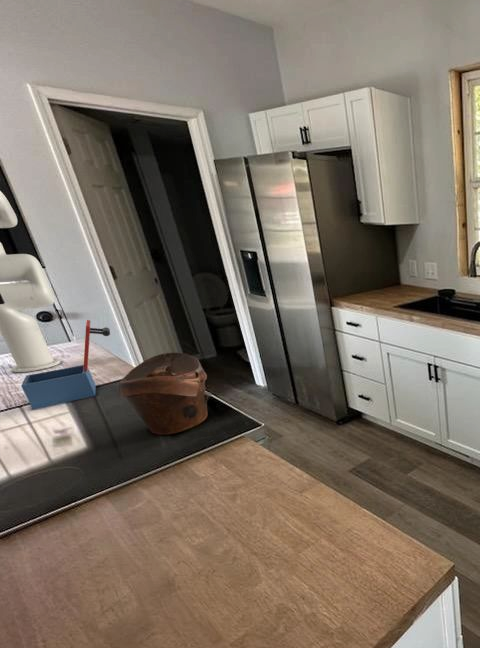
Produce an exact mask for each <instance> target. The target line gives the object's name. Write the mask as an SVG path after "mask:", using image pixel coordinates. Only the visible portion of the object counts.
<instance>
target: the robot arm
mask: <svg viewBox="0 0 480 648" xmlns="http://www.w3.org/2000/svg"><path fill="white" fill-rule="evenodd" d="M17 225H18V217H17V214H16V213H15V210H14V209H13V207H12V206H11V203H10V202H9V200H8V199H7V197H6V195H5V194H4V193H3V192H2V191H1V190H0V229H10V228H14V227H16V226H17ZM24 281H25V282H24ZM0 283H1V284H0V334H1V336H2V339H3V340H4V342H5V344H6V346H7V348H8V351H9V353H10V354H11V357H12V358H13V360H14V363H15V366H13V367H12V368H11V370H12V372H13V373H28V372H36V371H40V370H45V369H48V368H52V367H55V366H58V365H59V364H61V359H60V358H53V355H52V352H51V351H50V348H49V346H48V344H47V342H46V340H45V337H44V335H43V333H42V330H41V328H40V326H39V324H38V322H37V320H36V319H35V318H34V317H33V316H31V315H30V314H27V313H25V312H23V310H24V311H25V310H28V309H29V310H30V309H37V308H43V307H44V308H45V307H50V306H52V305H54V304H55V302H56V301H55V295H54V292H53V290H52V288H51V285H50V283H49V280H48V278H47V276H46V274H45V271H44V269H43V266H42V265H41V263H40V261H39V260H38V259H37V257H35V256H34V255H32V254H28V253H15V254H14V253H13V254H7V253H6V250H5V248H4V246H3V243H2V242H0Z"/></svg>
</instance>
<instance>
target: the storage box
mask: <svg viewBox="0 0 480 648" xmlns="http://www.w3.org/2000/svg"><path fill="white" fill-rule="evenodd" d="M83 369H84V364H81V365H76V366H75V365H74V366H69V367H64V368H59V369H53V370H48V371H44V372H43V371H42V372H38V373H33V374H27V375H25V377H24V379H23V381H22V383H21V385H20V386H21V389H22V390H23V393H24V395H25V397H26V399H27V401H28V403H29V405H30V407H31V409H32V410H38V409H42V408H46V407H52V406H57V405H60V404H65V403H69V402H73V401H79V400H82V399H88V398H93V397H96V391H97V389H96V388H97V385H96V382H95V381H94V378H93V376H92V373H91V370H90V369H89V366H88V367H87V372H83Z"/></svg>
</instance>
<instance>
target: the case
mask: <svg viewBox="0 0 480 648" xmlns="http://www.w3.org/2000/svg"><path fill="white" fill-rule="evenodd" d="M207 379H208V375H207V373H206V372H205V370H204V367H202V364H201V362H200V361H199V359H198V358H197V357H195V356H193V355H192V354H187V353H183V352H164V353H161V354H160V353H159V354H157V355H154V356H151V357H149V358H147V359H145V360H144V361H142V362H141V363H139V364H138V365H136V366H135V367H133V368H132V369H131V370H130V371H129V372H128V373H127V374H126V375H125V376H123V378H122V379H121V380H120V381H119V384H118V394H119V396H120V397H122V398H126V400H127V401H128V402H129V404H130V405H131V406H132V409H134V410H135V412H136V413H137V415H138V416H139V417H140V418H141V420H142V421H143V422H144V424H145V425H146V426H147V428H148V429H149V431H150V432H151V433H152V434H155V435H159V436H166V435H174V434H177V433H180V432H185V431H187V430H189V429H192V428H194V427H196V426H198V425H200V424H201V423H202V422H204V421H205V420H206V419H207V418H208V415H209V414H208V412H209V411H208V401H209V397H212V396H213V394H212V392H209V391H207V390H206V381H207Z"/></svg>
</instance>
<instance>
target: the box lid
mask: <svg viewBox="0 0 480 648" xmlns="http://www.w3.org/2000/svg"><path fill="white" fill-rule="evenodd" d="M91 334H92V335H93V334H94V335H102V336H104V337H109V336H110V335H111V329H110V328H109V327H108V326H107V327H106V326H105V327H103V328H96V327H91V320H89V319H87V320H86V323H85V335H84V337H85V338H84V351H83V352H84V354H83V365H84V369H83V372H87V367H88V368H89V353H90V352H89V351H90V336H91Z"/></svg>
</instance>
